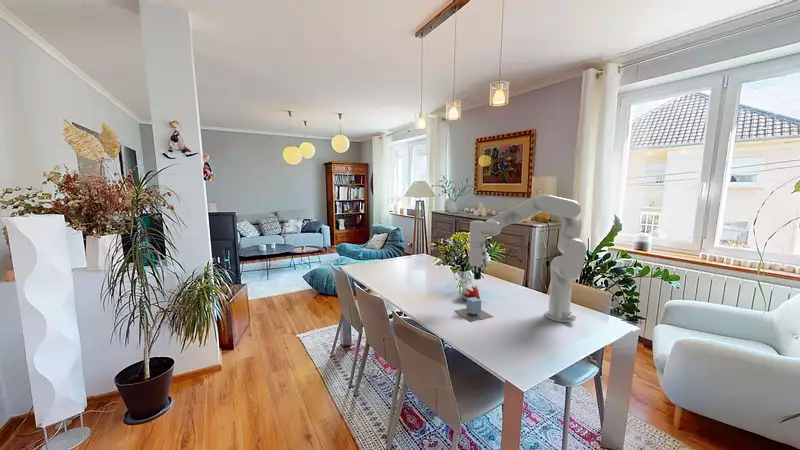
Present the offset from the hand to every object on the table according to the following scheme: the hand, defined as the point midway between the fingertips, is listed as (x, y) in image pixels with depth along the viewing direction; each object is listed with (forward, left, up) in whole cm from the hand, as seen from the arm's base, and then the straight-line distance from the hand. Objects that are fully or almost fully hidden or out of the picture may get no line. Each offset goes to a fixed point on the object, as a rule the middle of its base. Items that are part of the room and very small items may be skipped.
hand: (477, 279), depth 160 cm
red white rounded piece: (+15, -8, -18) cm, 25 cm away
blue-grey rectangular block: (-2, +3, -17) cm, 17 cm away
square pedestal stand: (-2, +3, -18) cm, 18 cm away
